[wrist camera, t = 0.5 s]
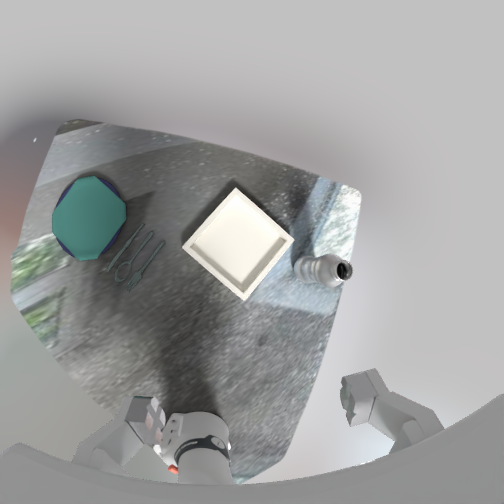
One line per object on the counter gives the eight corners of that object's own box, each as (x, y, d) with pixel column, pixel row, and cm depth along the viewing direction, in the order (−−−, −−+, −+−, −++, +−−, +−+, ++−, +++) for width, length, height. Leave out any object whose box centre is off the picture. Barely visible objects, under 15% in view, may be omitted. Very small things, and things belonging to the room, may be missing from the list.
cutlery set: (89, 164, 57) (86, 161, 55) (173, 237, 61) (172, 237, 59) (44, 225, 54) (40, 224, 52) (122, 303, 58) (120, 305, 56)
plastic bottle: (309, 251, 66) (351, 245, 47) (319, 276, 66) (364, 279, 47) (286, 261, 65) (322, 260, 45) (297, 287, 65) (336, 295, 46)
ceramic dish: (242, 299, 63) (244, 301, 60) (182, 248, 61) (181, 247, 58) (290, 241, 65) (294, 239, 63) (233, 190, 64) (235, 187, 61)
